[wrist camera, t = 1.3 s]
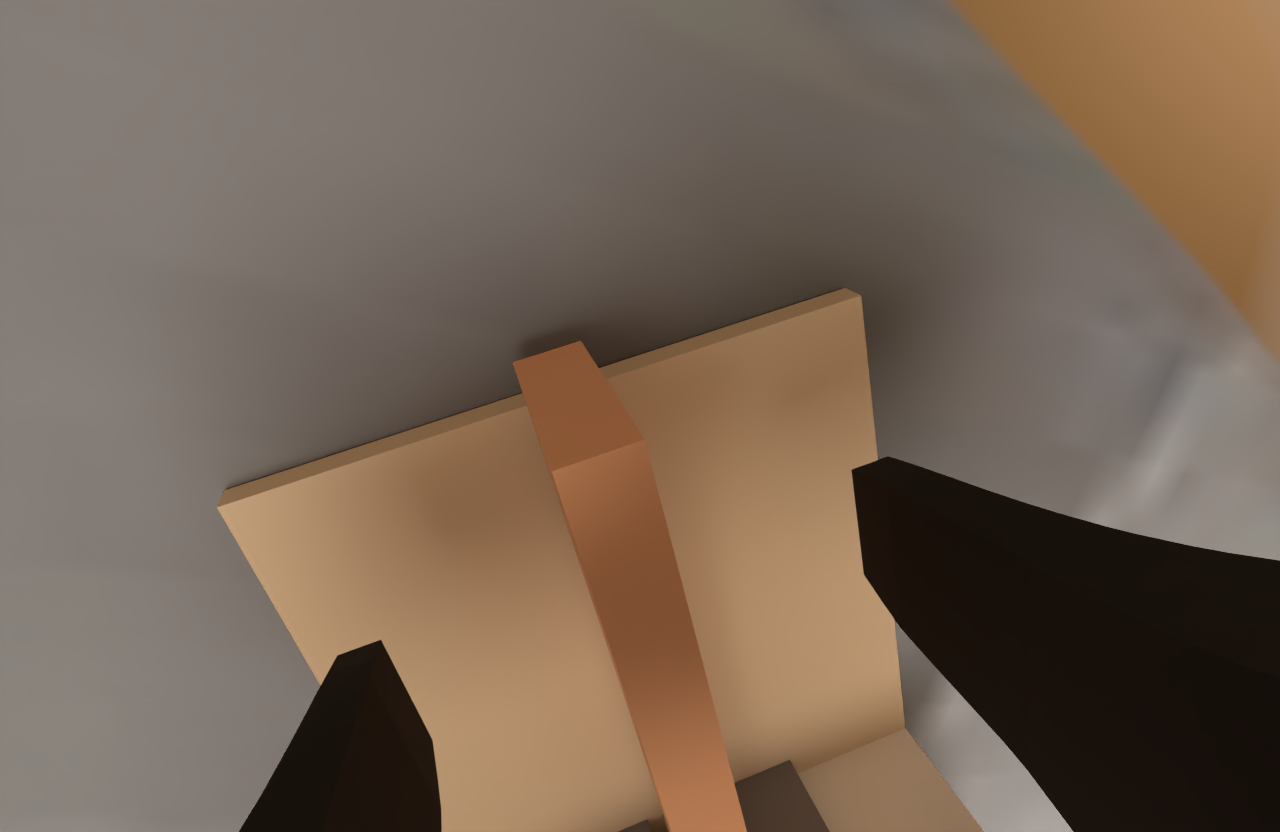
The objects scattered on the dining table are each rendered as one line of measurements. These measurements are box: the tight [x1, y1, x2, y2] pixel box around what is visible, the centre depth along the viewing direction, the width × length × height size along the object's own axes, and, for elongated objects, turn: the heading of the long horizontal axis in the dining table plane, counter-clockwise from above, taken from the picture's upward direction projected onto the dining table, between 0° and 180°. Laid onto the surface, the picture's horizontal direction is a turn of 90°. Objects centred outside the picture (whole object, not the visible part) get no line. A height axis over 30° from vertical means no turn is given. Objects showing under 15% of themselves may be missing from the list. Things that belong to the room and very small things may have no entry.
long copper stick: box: [512, 341, 747, 832], centre depth 16 cm, size 20×1×4 cm, turn 13°
